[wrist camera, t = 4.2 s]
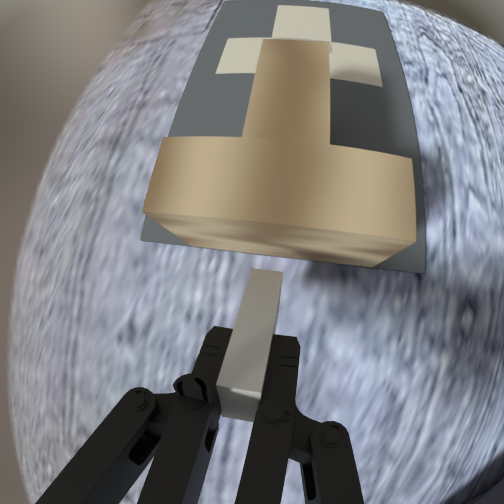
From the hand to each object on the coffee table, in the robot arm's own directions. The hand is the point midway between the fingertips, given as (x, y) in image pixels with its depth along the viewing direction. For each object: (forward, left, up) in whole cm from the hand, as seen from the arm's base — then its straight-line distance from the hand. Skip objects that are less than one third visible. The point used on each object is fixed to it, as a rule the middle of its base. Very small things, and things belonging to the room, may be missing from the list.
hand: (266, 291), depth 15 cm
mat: (0, -18, -4) cm, 19 cm away
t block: (0, -8, -3) cm, 9 cm away
